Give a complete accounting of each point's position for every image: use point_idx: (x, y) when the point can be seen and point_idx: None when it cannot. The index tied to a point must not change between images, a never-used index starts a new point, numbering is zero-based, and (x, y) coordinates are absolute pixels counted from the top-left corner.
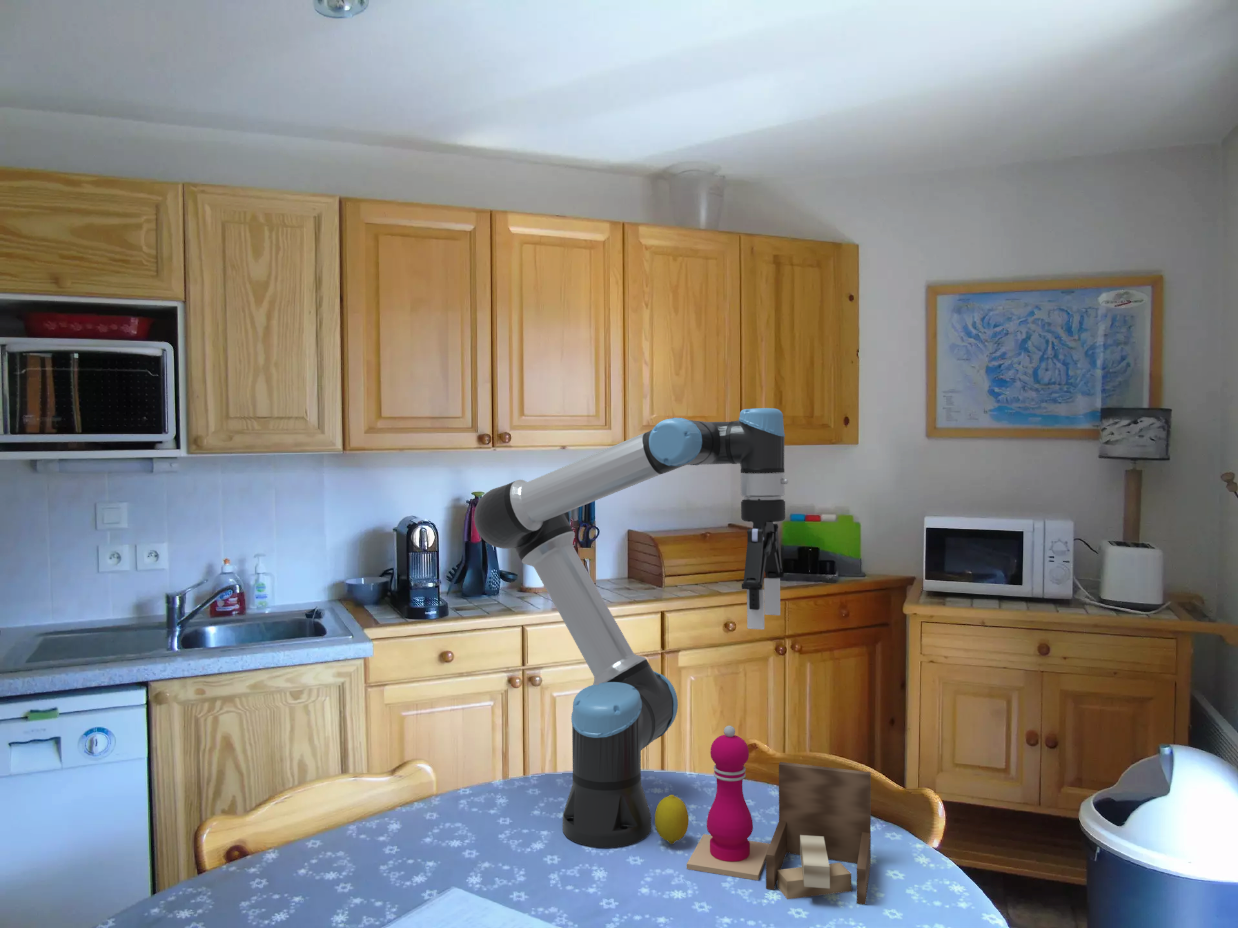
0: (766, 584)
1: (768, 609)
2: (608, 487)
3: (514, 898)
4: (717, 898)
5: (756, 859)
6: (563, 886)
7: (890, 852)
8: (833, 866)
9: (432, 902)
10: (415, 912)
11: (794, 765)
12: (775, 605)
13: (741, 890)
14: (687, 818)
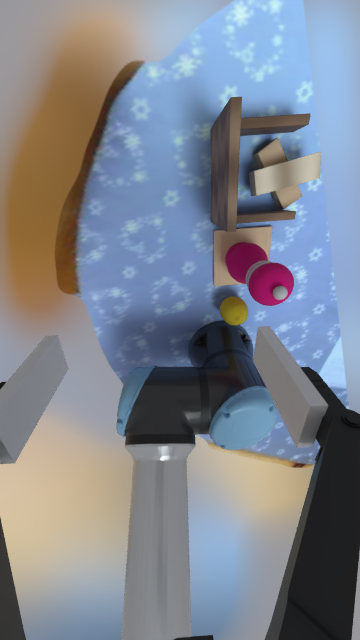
0: (24, 435)
1: (59, 369)
2: None
3: (320, 354)
4: (303, 247)
5: (246, 234)
6: (303, 339)
7: (182, 108)
8: (267, 158)
9: (330, 384)
10: (340, 385)
11: (234, 212)
12: (49, 361)
13: (288, 234)
14: (235, 299)
